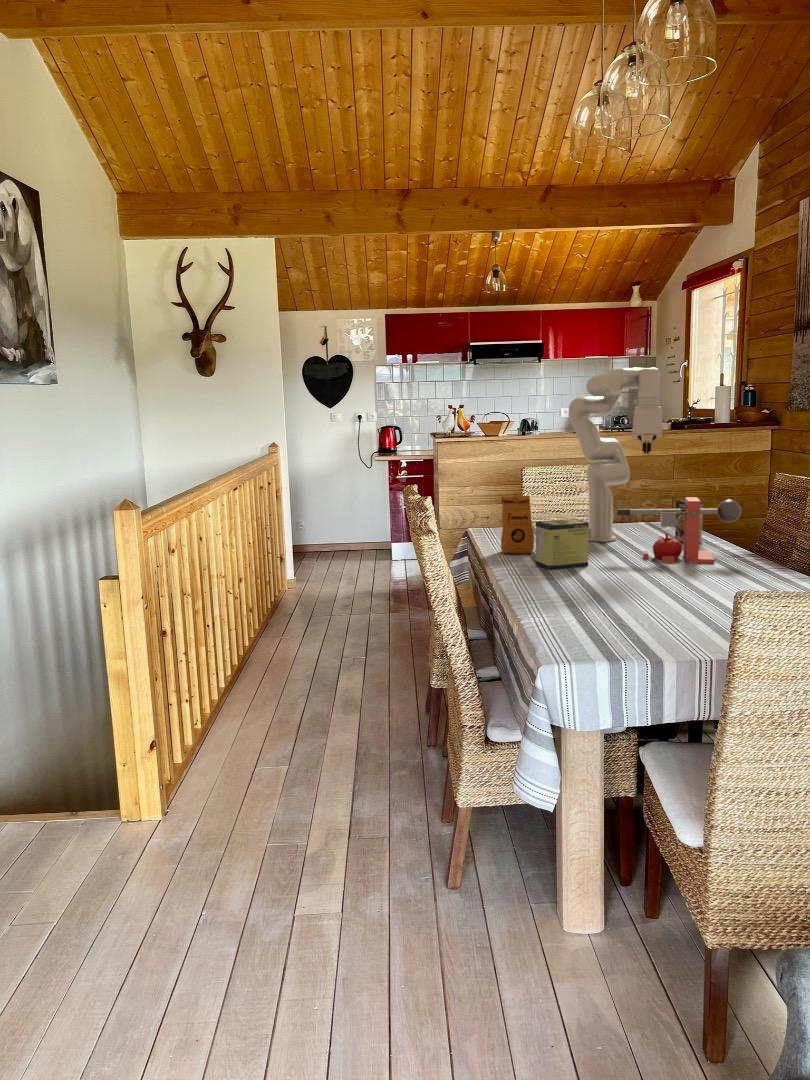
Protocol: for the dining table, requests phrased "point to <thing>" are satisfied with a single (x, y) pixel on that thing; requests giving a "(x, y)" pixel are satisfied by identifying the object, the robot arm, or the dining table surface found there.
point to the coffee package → (517, 525)
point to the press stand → (691, 536)
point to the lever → (724, 511)
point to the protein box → (562, 543)
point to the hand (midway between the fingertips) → (646, 453)
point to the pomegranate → (667, 547)
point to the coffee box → (681, 521)
